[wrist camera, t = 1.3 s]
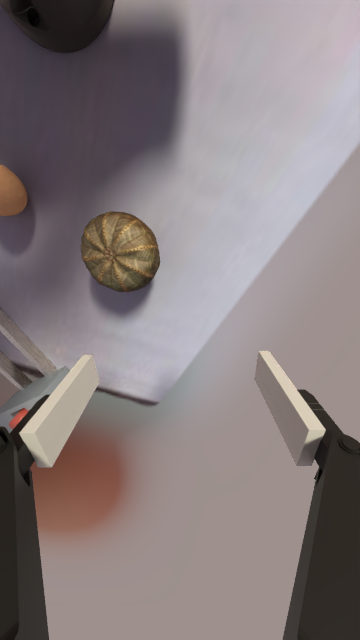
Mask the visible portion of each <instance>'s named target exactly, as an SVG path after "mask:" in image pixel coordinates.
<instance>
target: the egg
mask: <svg viewBox="0 0 360 640" xmlns="http://www.w3.org/2000/svg"><path fill="white" fill-rule="evenodd" d="M27 199H28V198H27V192H26V190H25V187H24V185H23V184H22V182H21V181H20V179H19V178H18V177H17V176H16V175H15V174H14V173H13V172H12V171H10V170H9V169H8V168H7V167H5V166H3V165H1V164H0V216H12V215H16V214H18V213H20V212H21V211H23V210H24V208H25V207H26V204H27Z"/></svg>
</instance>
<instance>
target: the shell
mask: <svg viewBox="0 0 360 640" xmlns="http://www.w3.org/2000/svg"><path fill="white" fill-rule="evenodd" d="M81 241H82V244H81V252H82V259H83V261H84V262H85V264H86V267H87V268H88V270H89V271H90V273H91V275H92V276H93V277H94V278H95V279H96V280H97V282H98V283H99V284H101V285H104V286H106V287H109V288H111V289H113V290H116V291H119V292H130V291H135V290H138V289H140V288H143V287H145V286H146V285H147V284H149V283H150V281H151V280H152V279H153V278H154V276H155V274H156V272H157V270H158V268H159V265H160V257H159V250H158V245H157V242H156V238H155V235H154V234H153V232H152V230H151V229H150V228H149V227H148V226H147V225H146V224H145V223H143V222H142V221H141V220H140V219H138V218H137V217H135V216H133V215H131V214H128V213H124V212H107V213H105V214H102V215H99V216H98V217H96V218H94V219H92V220H91V221H90V222H89V224H88V225H87V226H86V227H85V229H84V234H83V236H82V240H81Z"/></svg>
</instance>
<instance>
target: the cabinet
mask: <svg viewBox="0 0 360 640" xmlns="http://www.w3.org/2000/svg"><path fill="white" fill-rule="evenodd" d="M69 372H70V370H69V369H68V368H67V367H66V366H65V367H63V368H61V369H59V370H58V371H57V372H56V373H55V374H54V375H53V376H52V377H51V378H48V379H47V378H46V377H45V376H44V377H42V378H40V379H38V380H36V381H34V382H32V383H31V384H30V385H29V386H28V387H27V388H26V389H25V390H23V391H20V390H19V391H18V392H17V393H16V394H15V395H13V396H12V398H10V399H9V400H8V401H7V402H6V403H5V404H4V405H3V406H2V407H1V408H0V427H1V426H3V427H6V429H7V430H8V432H9V433H10V432H11V431H12V430H13V429H11V428H10V427H9V422H10V421H11V420H12V419H13V418H14V417H15V416H16V415H17V414H18V413H19V412H20V410H21V409H23V408H25V409H27V410H28V411H29V410H30V409H32V407H33V406H34V404H35V403H36V402H37V401H38V400H39V399H41V398H42V397H43V396H45V395H50V394H52V393H53V391H54V390H55V389H56V388H57V386H58V385H59V384H60V383H61V381H62V380H63V379H64V378H65V377H66V375H67V374H68V373H69Z"/></svg>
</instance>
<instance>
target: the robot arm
mask: <svg viewBox="0 0 360 640" xmlns="http://www.w3.org/2000/svg"><path fill="white" fill-rule="evenodd" d="M0 4H1V5H2V6H3V8H4V9H5V10H6V11H7V13H8V14H9V15H10V17H11V18H12V19H13V20H14V22H15V23H16V24H17V25H18V26H19V28H20V29H21V30H22V31H23V32H24V33H25V34H26V35H27V36H29V37H30V38H31V39H32V40H34V41H35V42H36V43H38V44H40V45H41V46H43V47H45V48H47V49H50V50H53V51H57V52H73V51H77V50H79V49H82V48H84V47H85V46H87V45H88V44H89V43H91V42H92V41H93V40H94V39H95V38H96V37H97V36H98V34H99V33H100V31H101V30H102V28H103V27H104V25H105V23H106V21H107V19H108V16H109V14H110V11H111V8H112V4H113V0H0ZM255 381H256V383H257V385H258V387H259V389H260V391H261V393H262V395H263V397H264V399H265V401H266V404H267V406H268V408H269V410H270V412H271V414H272V416H273V418H274V420H275V422H276V424H277V426H278V428H279V430H280V432H281V434H282V436H283V438H284V441H285V443H286V445H287V447H288V449H289V451H290V453H291V455H292V457H293V459H294V461H295V463H296V465H297V466H311V465H312V463H313V461H314V458H315V460H316V462H317V464H318V465H319V469H318V471H317V473H316V476H315V478H314V479H315V480H316V482H315V486H314V491H313V496H312V501H311V506H310V511H309V515H308V521H307V525H306V530H305V535H304V539H303V544H302V549H301V554H300V559H299V564H298V568H297V573H296V578H295V583H294V588H293V593H292V597H291V602H290V607H289V612H288V616H287V621H286V626H285V631H284V636H283V640H360V443H359V442H358V441H357V440H355V439H353V438H352V437H350V436H347V435H345V434H343V433H342V431H341V430H340V429H339V428H338V426H337V425H336V424H335V422H334V421H333V420H332V419H331V417H330V416H329V415H328V414H327V413H326V411H324V409H323V407H322V406H321V405H320V404H319V403H318V401H317V400H316V399H315V397H314V396H313V395H312V394H310V393H309V392H308V391H306V390H297V389H296V388H295V387H294V385H293V384H292V382H291V381H290V380H289V378H288V377H287V375H286V374H285V373H284V372H283V370H282V369H281V367H280V366H279V364H278V363H277V362H276V360H275V359H274V358H273V356H272V355H271V353H270V352H269V351H259V353H258V359H257V366H256V373H255ZM99 382H100V381H99V378H98V374H97V370H96V366H95V363H94V359H93V355H83V356H82V357H81V358H80V359H79V361H78V362H77V363H76V364H75V366H74V367H73V368H72V369H71V370H70V372H69V373H68V374H67V375H66V377H65V378H64V379H63V380H62V381H61V383H60V384H59V385H58V386H57V388H56V389H55V390H54V391H53V393H52V394H50V395H45V396H43V397H42V398H41V399H39V400H38V401H37V402H36V403H35V404H34V406H33V407H32V409H30V410H29V411H28V413H27V414H26V415H25V416H24V417H23V418H22V419H21V421H20V422H19V423H18V424H17V425H16V426H15V428H14V429H13V430H12V431H11V432H10V433H9V432H8V430H7V429H6V427H3V426H1V427H0V640H49V635H48V626H47V616H46V606H45V596H44V587H43V578H42V568H41V559H40V548H39V539H38V530H37V519H36V510H35V501H34V491H33V481H32V472H31V470H30V467H31V465H32V464H33V462H34V461H35V463H36V464H37V466H38V467H52V466H53V464H54V462H55V461H56V459H57V457H58V455H59V453H60V452H61V450H62V448H63V446H64V445H65V443H66V441H67V439H68V438H69V436H70V434H71V432H72V430H73V429H74V427H75V425H76V423H77V421H78V420H79V418H80V416H81V414H82V412H83V410H84V409H85V407H86V405H87V404H88V402H89V400H90V398H91V396H92V395H93V393H94V391H95V389H96V388H97V386H98V384H99Z"/></svg>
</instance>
